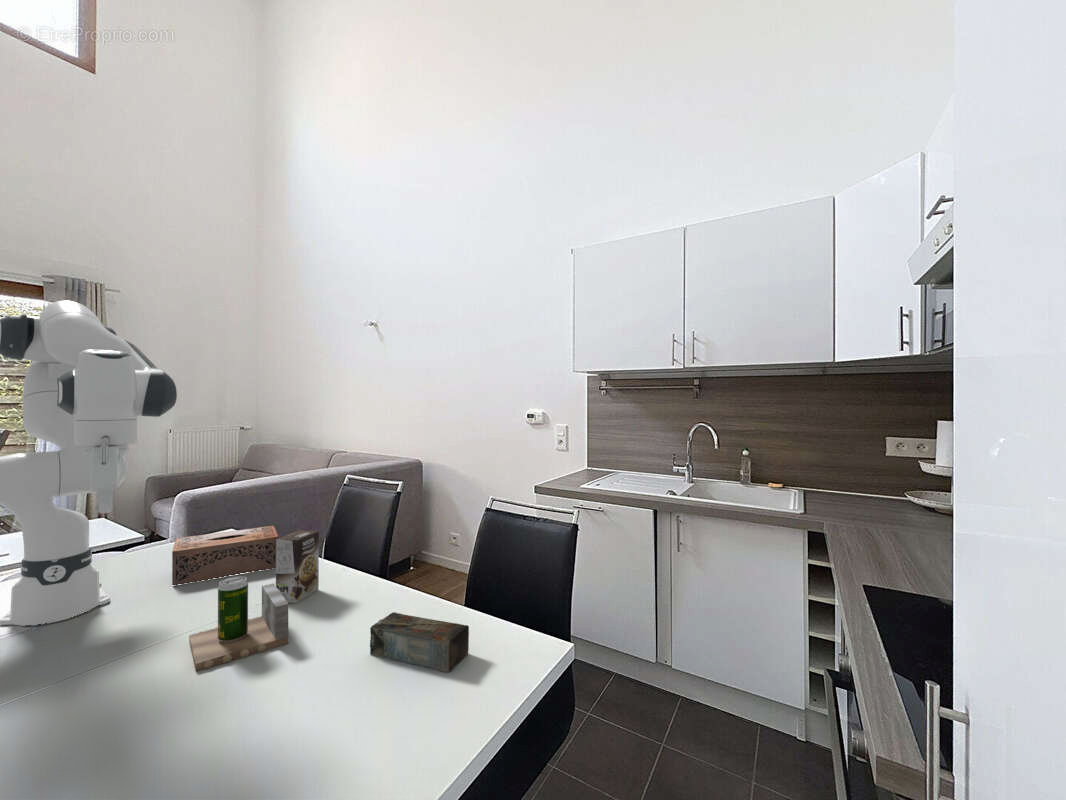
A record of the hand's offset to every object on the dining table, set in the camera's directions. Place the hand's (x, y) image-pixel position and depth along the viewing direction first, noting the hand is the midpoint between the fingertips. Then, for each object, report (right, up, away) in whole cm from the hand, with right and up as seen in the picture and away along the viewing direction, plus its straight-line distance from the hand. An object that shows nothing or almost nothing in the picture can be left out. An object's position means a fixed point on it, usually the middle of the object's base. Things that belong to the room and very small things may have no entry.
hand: (106, 507), depth 89 cm
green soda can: (+18, -30, +10) cm, 36 cm away
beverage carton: (+58, -32, +7) cm, 66 cm away
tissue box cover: (-12, -31, +53) cm, 63 cm away
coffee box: (+19, -31, +35) cm, 50 cm away
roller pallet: (+18, -31, +11) cm, 38 cm away
